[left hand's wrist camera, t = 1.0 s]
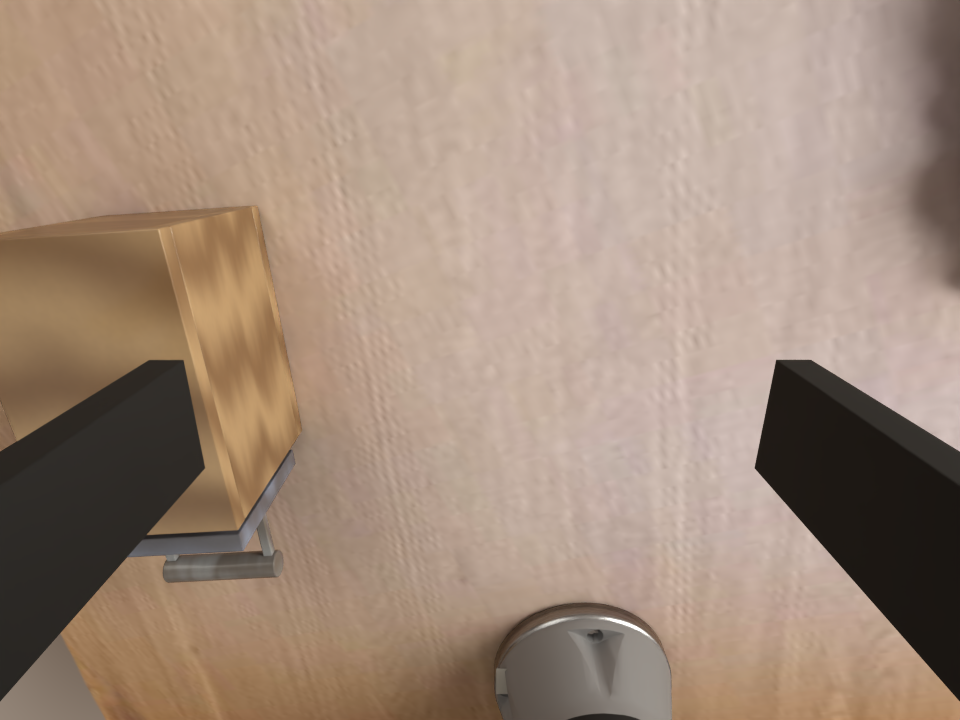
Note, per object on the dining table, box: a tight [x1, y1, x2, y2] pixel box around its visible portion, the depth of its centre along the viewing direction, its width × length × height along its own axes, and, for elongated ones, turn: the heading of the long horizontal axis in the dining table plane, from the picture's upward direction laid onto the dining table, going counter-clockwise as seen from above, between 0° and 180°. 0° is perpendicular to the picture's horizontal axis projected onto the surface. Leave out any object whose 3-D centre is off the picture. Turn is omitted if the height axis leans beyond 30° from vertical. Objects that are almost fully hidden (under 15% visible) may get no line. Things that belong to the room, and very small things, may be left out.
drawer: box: [128, 450, 295, 583], centre depth 35 cm, size 21×9×10 cm, turn 4°
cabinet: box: [0, 206, 302, 535], centre depth 33 cm, size 16×10×12 cm, turn 4°
